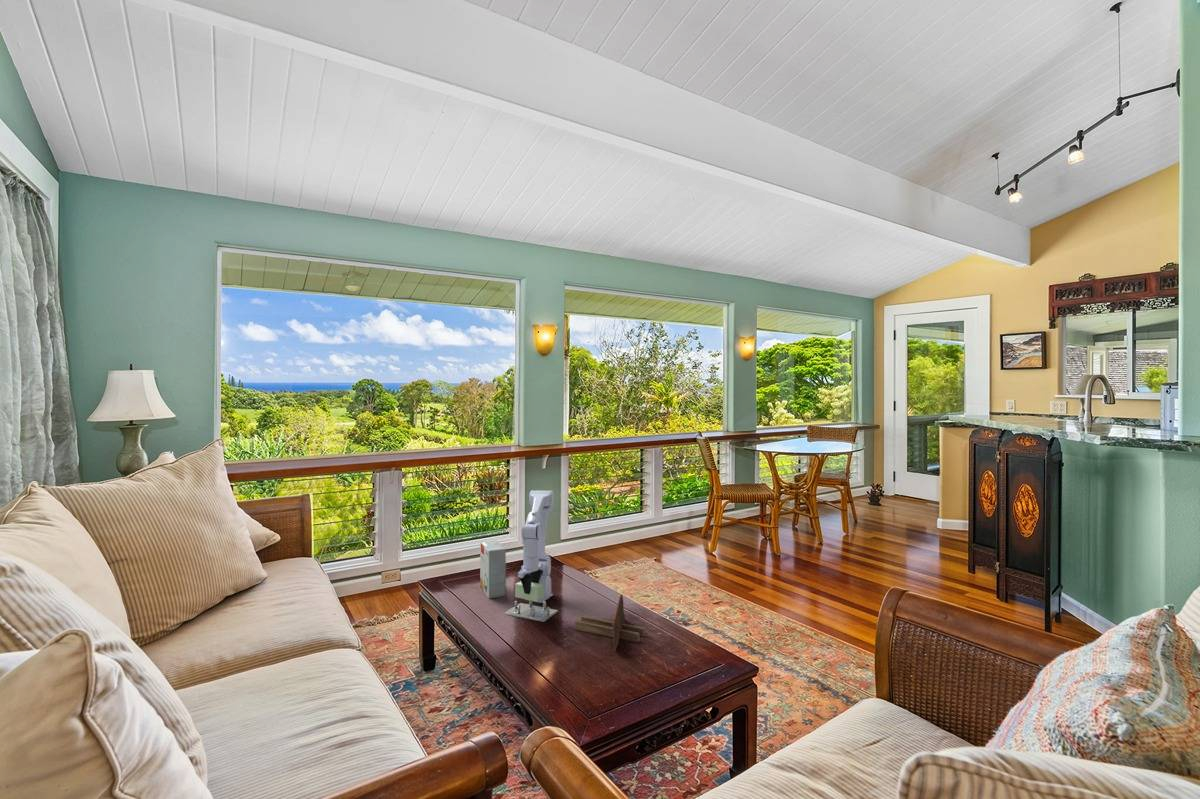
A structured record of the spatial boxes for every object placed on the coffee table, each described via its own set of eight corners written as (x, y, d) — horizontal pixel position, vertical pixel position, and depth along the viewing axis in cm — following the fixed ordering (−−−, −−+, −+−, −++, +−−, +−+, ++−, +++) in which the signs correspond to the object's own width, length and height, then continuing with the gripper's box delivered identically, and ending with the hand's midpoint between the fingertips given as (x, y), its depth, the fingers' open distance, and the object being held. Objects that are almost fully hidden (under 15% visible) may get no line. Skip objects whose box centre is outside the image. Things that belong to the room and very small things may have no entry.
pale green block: (515, 597, 210) (515, 583, 210) (521, 593, 214) (521, 580, 214) (537, 601, 205) (537, 587, 205) (543, 597, 209) (543, 584, 209)
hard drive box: (479, 587, 239) (479, 541, 239) (497, 584, 242) (497, 539, 242) (488, 599, 225) (488, 550, 225) (506, 596, 228) (506, 548, 228)
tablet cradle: (582, 623, 200) (582, 615, 200) (644, 636, 189) (644, 627, 189) (575, 630, 194) (575, 621, 194) (638, 643, 184) (638, 634, 184)
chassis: (505, 614, 208) (505, 605, 208) (520, 605, 217) (520, 596, 217) (543, 622, 201) (543, 612, 201) (557, 612, 210) (557, 603, 210)
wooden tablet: (618, 653, 176) (618, 621, 176) (611, 652, 177) (611, 621, 177) (625, 619, 203) (625, 592, 203) (619, 619, 203) (619, 592, 203)
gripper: (532, 549, 218) (532, 584, 218) (511, 559, 205) (511, 595, 205) (547, 551, 215) (547, 586, 214) (526, 561, 202) (526, 598, 201)
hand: (531, 591), depth 209 cm, fingers closed on pale green block, 4 cm apart
